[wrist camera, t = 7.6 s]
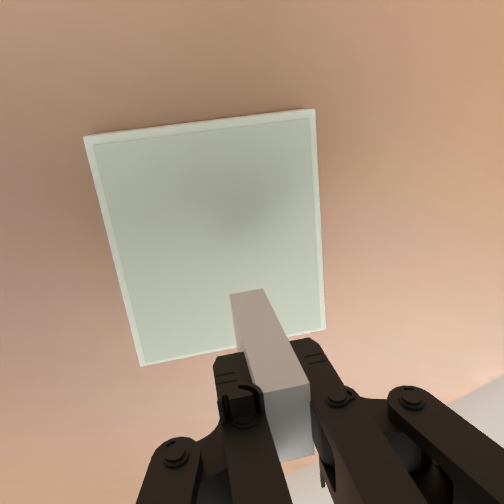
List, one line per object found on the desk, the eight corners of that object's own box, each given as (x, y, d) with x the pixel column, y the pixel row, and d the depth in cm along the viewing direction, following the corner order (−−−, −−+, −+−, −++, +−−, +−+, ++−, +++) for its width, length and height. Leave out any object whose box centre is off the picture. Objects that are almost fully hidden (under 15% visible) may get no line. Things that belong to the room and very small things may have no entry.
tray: (142, 346, 31) (139, 370, 28) (91, 134, 25) (81, 137, 23) (314, 313, 33) (327, 332, 30) (302, 108, 27) (317, 108, 25)
